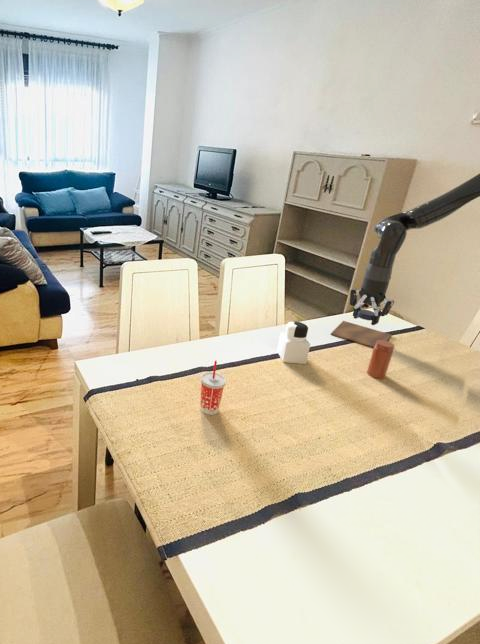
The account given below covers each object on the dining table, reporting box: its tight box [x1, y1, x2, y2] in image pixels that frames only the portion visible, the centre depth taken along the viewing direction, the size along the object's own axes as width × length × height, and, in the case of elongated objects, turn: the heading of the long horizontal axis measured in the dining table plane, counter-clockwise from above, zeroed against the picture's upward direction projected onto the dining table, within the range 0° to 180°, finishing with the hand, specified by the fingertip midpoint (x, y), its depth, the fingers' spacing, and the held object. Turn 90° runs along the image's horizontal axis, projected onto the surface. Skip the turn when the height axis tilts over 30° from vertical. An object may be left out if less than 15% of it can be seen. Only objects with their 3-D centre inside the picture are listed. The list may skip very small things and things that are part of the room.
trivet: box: [330, 320, 391, 349], centre depth 141 cm, size 16×16×1 cm
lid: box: [357, 308, 375, 321], centre depth 138 cm, size 6×6×2 cm
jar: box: [366, 340, 395, 380], centre depth 114 cm, size 5×5×11 cm
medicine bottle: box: [276, 321, 311, 365], centre depth 122 cm, size 7×7×12 cm
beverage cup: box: [199, 360, 227, 416], centre depth 95 cm, size 6×6×14 cm
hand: (364, 321), depth 139 cm, fingers closed on lid, 5 cm apart
